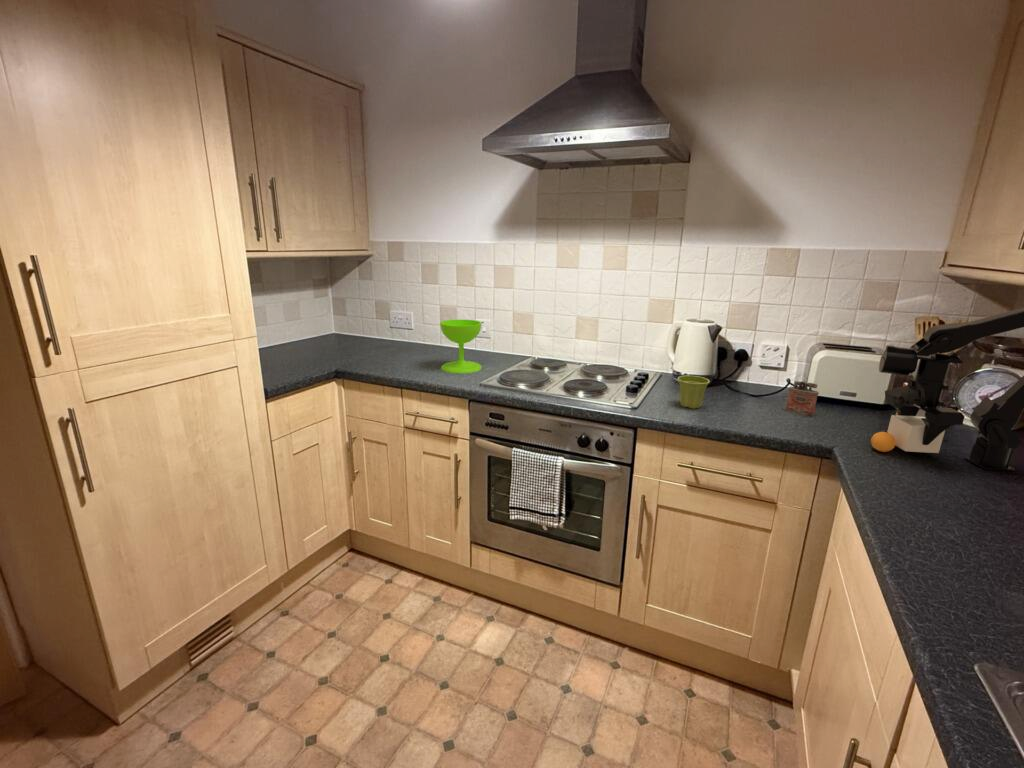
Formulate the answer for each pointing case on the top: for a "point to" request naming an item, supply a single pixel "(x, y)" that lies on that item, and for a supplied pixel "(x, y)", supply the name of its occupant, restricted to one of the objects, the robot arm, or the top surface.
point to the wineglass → (461, 343)
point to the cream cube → (912, 434)
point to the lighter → (802, 398)
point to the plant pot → (692, 390)
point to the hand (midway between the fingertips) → (913, 438)
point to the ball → (883, 441)
